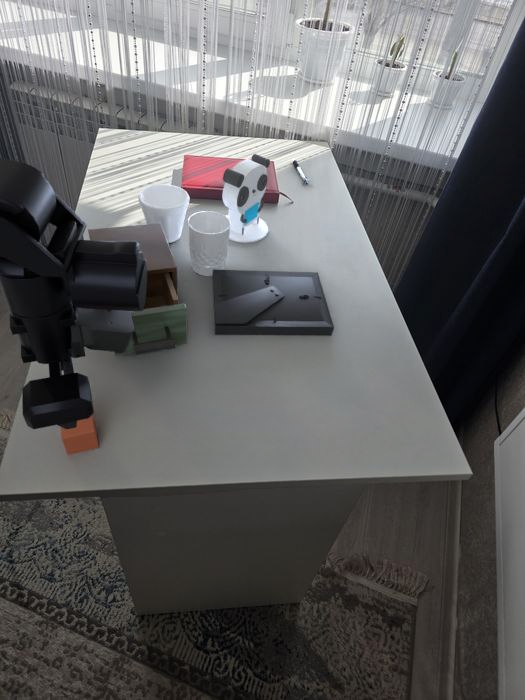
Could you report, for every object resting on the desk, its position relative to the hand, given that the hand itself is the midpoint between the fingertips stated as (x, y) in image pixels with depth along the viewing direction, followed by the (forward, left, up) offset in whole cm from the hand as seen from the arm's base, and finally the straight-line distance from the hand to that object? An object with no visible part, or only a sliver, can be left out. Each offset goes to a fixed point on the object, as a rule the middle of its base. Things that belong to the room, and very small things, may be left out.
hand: (68, 396), depth 57 cm
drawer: (+12, +18, -8) cm, 23 cm away
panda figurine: (+38, +46, -10) cm, 61 cm away
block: (0, 0, -9) cm, 9 cm away
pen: (+62, +70, -9) cm, 94 cm away
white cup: (+27, +34, -10) cm, 45 cm away
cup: (+21, +46, -10) cm, 52 cm away
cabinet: (+12, +29, -9) cm, 33 cm away
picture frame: (+35, +20, -10) cm, 42 cm away
